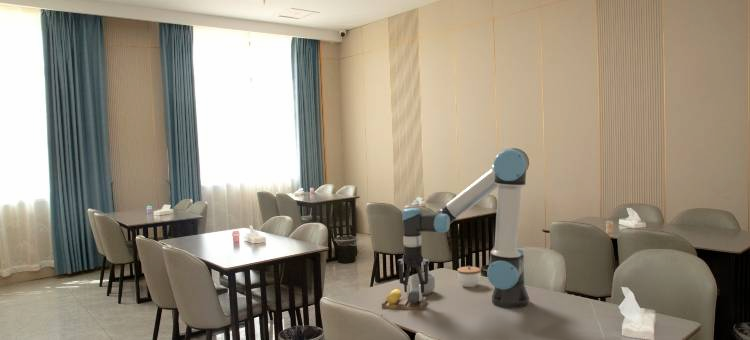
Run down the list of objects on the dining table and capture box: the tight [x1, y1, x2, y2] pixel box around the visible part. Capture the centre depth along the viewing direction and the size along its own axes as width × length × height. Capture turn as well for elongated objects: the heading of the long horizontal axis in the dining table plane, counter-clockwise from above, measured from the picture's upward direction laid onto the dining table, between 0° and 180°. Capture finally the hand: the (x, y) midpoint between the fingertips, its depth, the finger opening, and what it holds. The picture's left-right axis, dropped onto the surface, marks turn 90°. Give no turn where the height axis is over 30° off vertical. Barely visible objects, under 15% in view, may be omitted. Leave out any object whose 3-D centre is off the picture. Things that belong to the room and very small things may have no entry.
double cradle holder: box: [381, 295, 427, 311], centre depth 224 cm, size 17×11×2 cm, turn 75°
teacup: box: [410, 272, 436, 296], centre depth 241 cm, size 14×11×8 cm
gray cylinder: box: [408, 288, 419, 304], centre depth 223 cm, size 8×4×4 cm, turn 165°
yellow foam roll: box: [386, 288, 402, 305], centre depth 225 cm, size 8×4×4 cm, turn 163°
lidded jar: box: [457, 265, 481, 288], centre depth 249 cm, size 11×11×9 cm
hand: (414, 299), depth 223 cm, fingers open, 4 cm apart
